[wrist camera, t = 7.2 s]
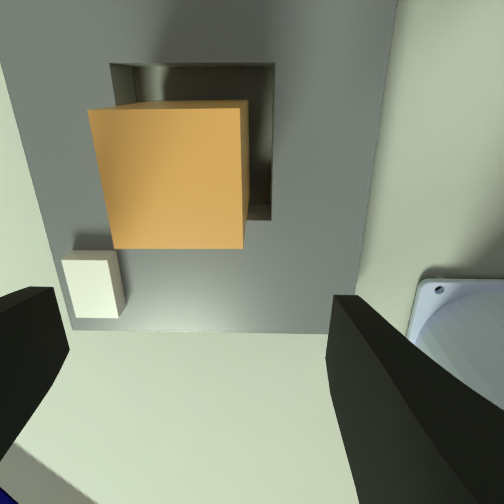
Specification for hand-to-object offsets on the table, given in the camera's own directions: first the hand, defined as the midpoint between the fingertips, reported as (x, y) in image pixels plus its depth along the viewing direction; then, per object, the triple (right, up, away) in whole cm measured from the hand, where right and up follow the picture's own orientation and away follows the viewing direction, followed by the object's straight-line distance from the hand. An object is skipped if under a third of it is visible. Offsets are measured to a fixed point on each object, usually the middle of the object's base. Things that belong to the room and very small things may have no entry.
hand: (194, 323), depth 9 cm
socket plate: (-1, +7, +7) cm, 10 cm away
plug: (-1, +7, +7) cm, 10 cm away
